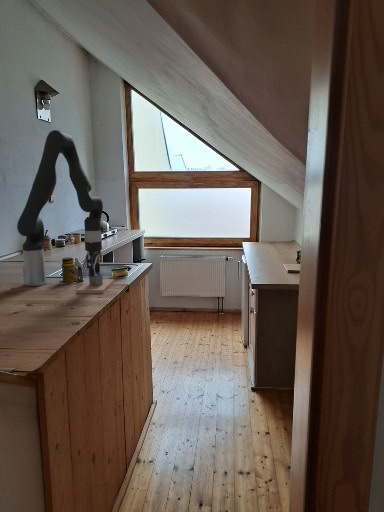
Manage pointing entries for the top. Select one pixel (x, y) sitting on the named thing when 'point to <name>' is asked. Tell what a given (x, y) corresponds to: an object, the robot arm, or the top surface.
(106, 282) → the shaft stand
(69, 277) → the condiment
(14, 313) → the top surface
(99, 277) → the hub
